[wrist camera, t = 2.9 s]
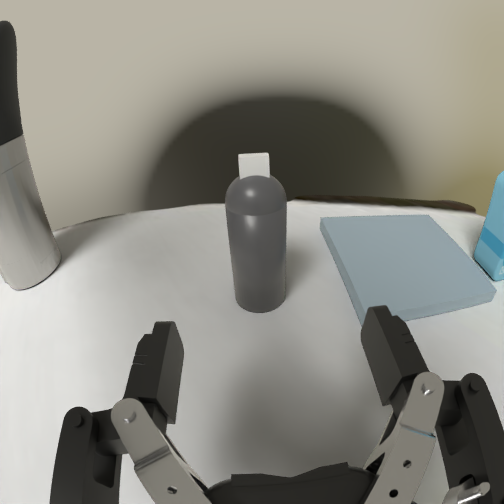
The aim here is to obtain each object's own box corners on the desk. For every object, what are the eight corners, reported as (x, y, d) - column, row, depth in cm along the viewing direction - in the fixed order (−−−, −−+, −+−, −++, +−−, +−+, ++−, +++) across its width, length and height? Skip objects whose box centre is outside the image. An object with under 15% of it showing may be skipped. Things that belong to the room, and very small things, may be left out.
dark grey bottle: (235, 314, 24) (218, 166, 17) (235, 280, 27) (222, 149, 20) (287, 310, 24) (291, 162, 17) (281, 277, 27) (281, 146, 20)
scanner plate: (362, 327, 22) (366, 315, 21) (319, 228, 35) (320, 217, 34) (491, 301, 22) (496, 290, 21) (425, 224, 35) (428, 214, 34)
